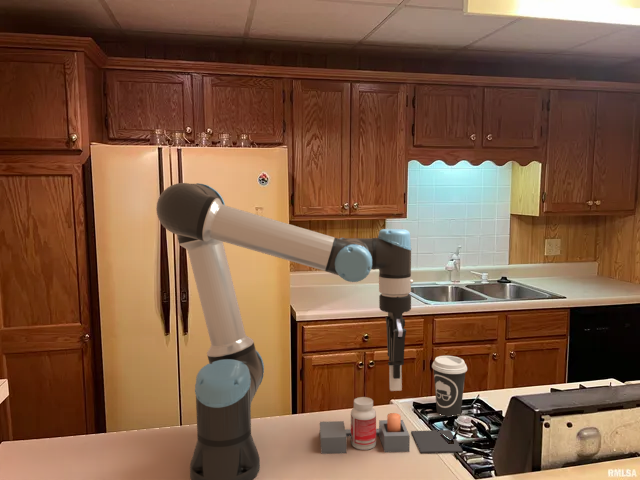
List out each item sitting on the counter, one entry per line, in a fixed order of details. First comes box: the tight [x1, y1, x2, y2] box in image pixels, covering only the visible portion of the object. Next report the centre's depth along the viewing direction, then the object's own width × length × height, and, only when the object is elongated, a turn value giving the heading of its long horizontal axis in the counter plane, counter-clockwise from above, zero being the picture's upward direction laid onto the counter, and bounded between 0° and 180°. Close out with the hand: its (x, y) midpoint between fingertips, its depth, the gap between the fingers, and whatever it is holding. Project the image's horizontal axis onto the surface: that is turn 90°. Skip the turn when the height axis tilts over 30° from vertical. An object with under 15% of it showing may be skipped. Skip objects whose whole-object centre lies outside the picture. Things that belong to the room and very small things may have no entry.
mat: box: [410, 429, 464, 455], centre depth 118 cm, size 10×10×1 cm
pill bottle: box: [350, 396, 377, 451], centre depth 117 cm, size 6×6×11 cm
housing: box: [319, 419, 411, 455], centre depth 118 cm, size 21×10×4 cm, turn 92°
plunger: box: [386, 412, 402, 432], centre depth 117 cm, size 3×3×5 cm
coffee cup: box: [431, 355, 468, 416], centre depth 134 cm, size 10×10×15 cm
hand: (395, 389), depth 116 cm, fingers closed
